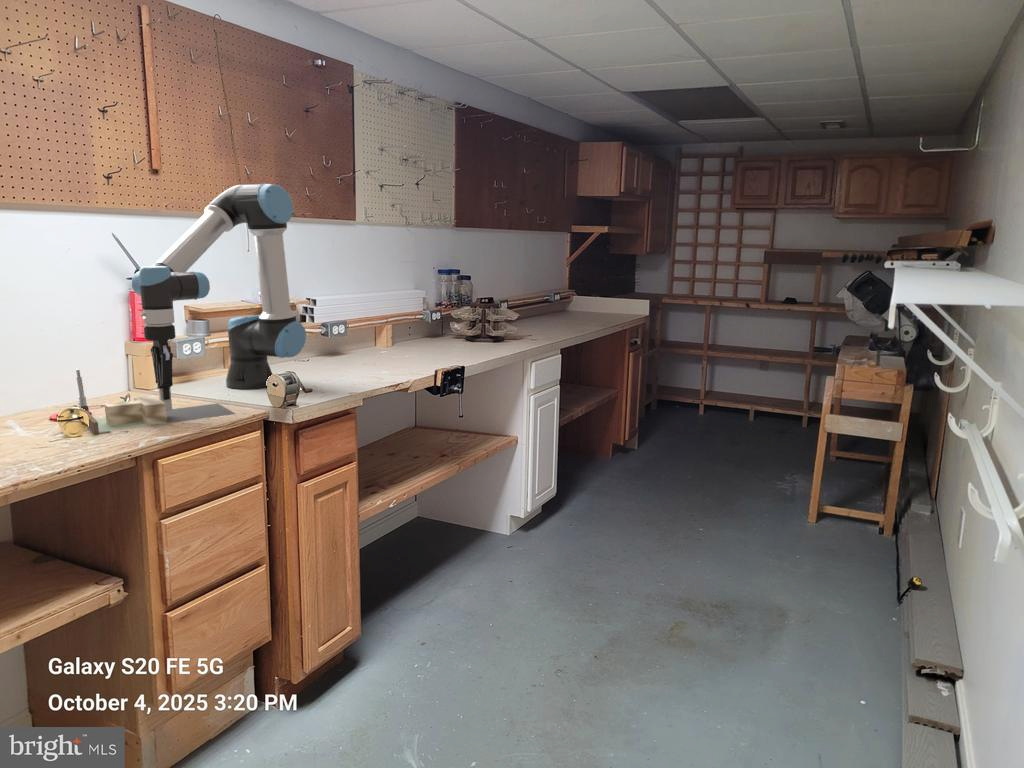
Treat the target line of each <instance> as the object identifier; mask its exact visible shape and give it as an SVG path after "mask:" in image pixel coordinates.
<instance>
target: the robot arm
mask: <svg viewBox="0 0 1024 768" xmlns="http://www.w3.org/2000/svg"><path fill="white" fill-rule="evenodd" d="M203 211H204V212H203V213H204V214H203V215H201V217H200V218H199V219H198V220H197V221H196V222H195V223H194V224H193V225H192V226H191V227H190V228H189V229H188V230H187V231H185V232H184V234H183V235H182V236H181V237H180V238H179V239H178V240H177V241H176V242H175V243H174V244H173V245H172V246H171V247H170V248H169V249H168V250H167V251H166V252H165V253H164V254H163V255H162V256H161V257H160V258H159V259H158V260H157V261H156V262H155V263H154V264H152V265H148V266H146V265H145V266H142V267H140V269H139V271H137V272H136V273H134V274H133V276H132V278H131V287H132V290H133V291H134V293H135V294H136V295H138V296H140V300H141V308H142V312H141V313H140V317H142V319H143V320H142V321H143V324H144V326H143V333H144V336H143V337H144V339H145V341H149V342H150V341H151V342H152V346H151V347H150V353H151V356H152V363H153V373H154V378H155V384H156V385H157V389H158V398H159V399H160V400H162V401H163V402H165V403H166V411H172V409H173V404H172V403H173V402H172V392H171V391H172V390H171V389H172V388H171V387H173V357H174V353H173V352H172V348H171V346H170V345H169V340H174V339H176V328H175V327H176V326H175V325H174V324H175V313H174V302H175V301H187V300H188V301H189V300H196V301H197V300H199V299H203V298H204V299H205V298H206V297H207V296H208V295H209V292H210V290H211V287H210V286H211V285H210V280H209V278H208V277H207V275H206V274H205V273H204V272H200V271H189V269H190V268H192V266H193V265H194V264H195V263H196V262H198V260H199V259H200V258H201V257H202V256H203V255H204V254H205V253H206V252H207V251H208V250H209V248H210V247H211V246H213V245H214V243H215V242H216V241H218V239H219V238H220V237H221V236H222V235H223V234H224V233H225V232H230V231H231V230H233V228H235V227H236V226H238V225H241V224H246V225H247V230H248V232H250V233H251V234H252V236H253V239H254V246H255V248H254V249H255V254H256V255H255V256H256V264H257V265H256V267H257V273H258V274H257V275H258V281H259V282H258V283H259V291H260V299H261V308H262V312H261V313H260V314H257V315H247V316H238V317H232V318H230V319H229V321H228V323H227V324H228V326H227V328H228V329H227V335H228V345H229V346H228V348H229V359H230V364H229V366H228V370H227V375H226V379H225V385H226V387H227V388H230V389H239V390H241V389H242V390H247V389H248V390H250V389H251V390H252V389H260V388H261V389H263V388H266V387H265V386H266V381H267V379H268V377H269V376H271V375H273V376H274V374H273V372H272V369H271V367H270V364H269V362H268V357H276V358H277V357H278V358H279V359H281V358H282V359H284V358H294V357H296V356H297V355H298V354H300V353H301V351H302V349H303V348H304V347H305V344H306V340H307V331H306V328H305V326H304V325H303V324H302V323H301V322H299V321H297V320H298V319H297V314H296V313H295V311H293V310H292V308H291V302H290V301H291V300H290V290H289V283H288V280H289V279H288V272H287V263H286V262H287V261H286V253H285V243H284V232H285V231H286V230H287V229H288V222H289V221H291V219H292V216H293V214H294V203H293V200H292V198H291V195H290V194H289V192H288V191H286V189H285V188H284V187H282V186H281V185H279V184H275V183H274V184H273V183H259V184H258V183H256V184H237V185H234V186H232V187H229V188H227V189H226V190H224V191H223V192H222V193H220V194H219V195H217V197H215V198H214V199H213V200H212V201H210V202H209V203H208V204H207V205H206V207H205V208H204V210H203ZM187 271H188V272H187Z"/></svg>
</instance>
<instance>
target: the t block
mask: <svg viewBox="0 0 1024 768" xmlns="http://www.w3.org/2000/svg"><path fill="white" fill-rule="evenodd" d="M104 413H105V417H106V423H107V424H108V425H109V426H112V425H119V424H127V423H134V422H142V421H143V422H145V423H146V424H153V423H160V422H167V413H166V403H165V402H163V401H162V400H160V399H159V397H158V396H156V395H146V396H137V397H134V400H130V401H121V402H111V403H105V404H104Z"/></svg>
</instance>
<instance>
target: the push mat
mask: <svg viewBox="0 0 1024 768" xmlns="http://www.w3.org/2000/svg"><path fill="white" fill-rule="evenodd" d="M85 411H86V412H87V414H88V417H89V428H88V429H89V430H90V431H91V432H92V434H93V435H100V434H106V433H108V434H109V433H111V432H113V431H118V430H121V431H122V430H126V429H127V430H128V429H135V428H140V427H141V428H142V427H150V426H156V425H162V424H163V425H165V424H170V423H178V422H187V421H193V420H200V419H201V420H202V419H208V418H214V417H215V418H216V417H222V416H223V417H224V416H229V415H236V413H235V412H233V411H232V410H230V409H228V408H226V407H225V406H223V405H221V404H220V403H218V402H217V403H211V404H210V403H209V404H201V405H195V406H194V405H193V406H186V407H178V408H172V411H166V413H167V422H160V423H153V424H146V423H145V422H143V421H142V422H134V423H127V424H119V425H112V426H109V425H108V424H107V423H106V416H105V417H98V418H94V416H92V415H90V414H89V412H90V411H89V412H88V411H87V410H85Z"/></svg>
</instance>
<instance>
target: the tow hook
mask: <svg viewBox="0 0 1024 768" xmlns="http://www.w3.org/2000/svg"><path fill="white" fill-rule="evenodd" d="M76 381H77V389H78V395H79V397H78V400H79V408H80V407H81V408H83V409H85V410H87V411H88V412H89V414H90V415H91V416H92V412H91V411H90V408H89V406H88V403H87V397H86V395H85V391H84V385H83V384H84V383H83V378H82V376H81V370H80V369H77V368H76ZM59 413H60V412H56V413H53V414H51V415H50V416H49V420H50V421H52V420H54V421H53V422H58V421H57V418H58V417H57V416H58V414H59Z"/></svg>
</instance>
